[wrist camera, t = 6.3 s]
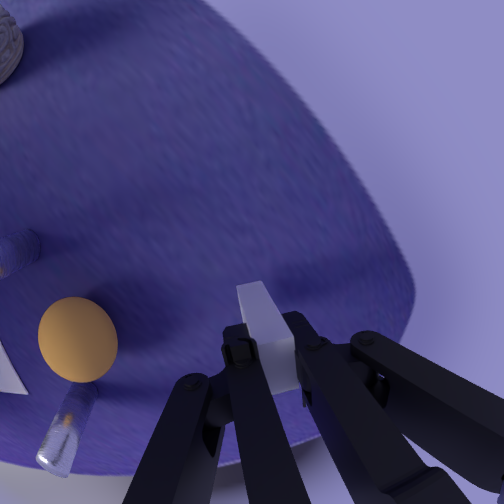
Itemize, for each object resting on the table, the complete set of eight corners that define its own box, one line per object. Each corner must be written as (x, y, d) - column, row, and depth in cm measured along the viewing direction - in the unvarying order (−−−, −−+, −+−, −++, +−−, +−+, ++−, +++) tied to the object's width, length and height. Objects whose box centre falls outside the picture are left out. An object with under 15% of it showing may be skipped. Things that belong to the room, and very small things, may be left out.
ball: (50, 400, 12) (122, 396, 13) (10, 324, 11) (84, 311, 12) (73, 357, 17) (134, 348, 18) (47, 292, 16) (110, 278, 17)
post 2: (80, 398, 18) (49, 474, 10) (68, 377, 18) (29, 453, 9) (102, 398, 19) (74, 479, 10) (90, 377, 18) (54, 459, 9)
